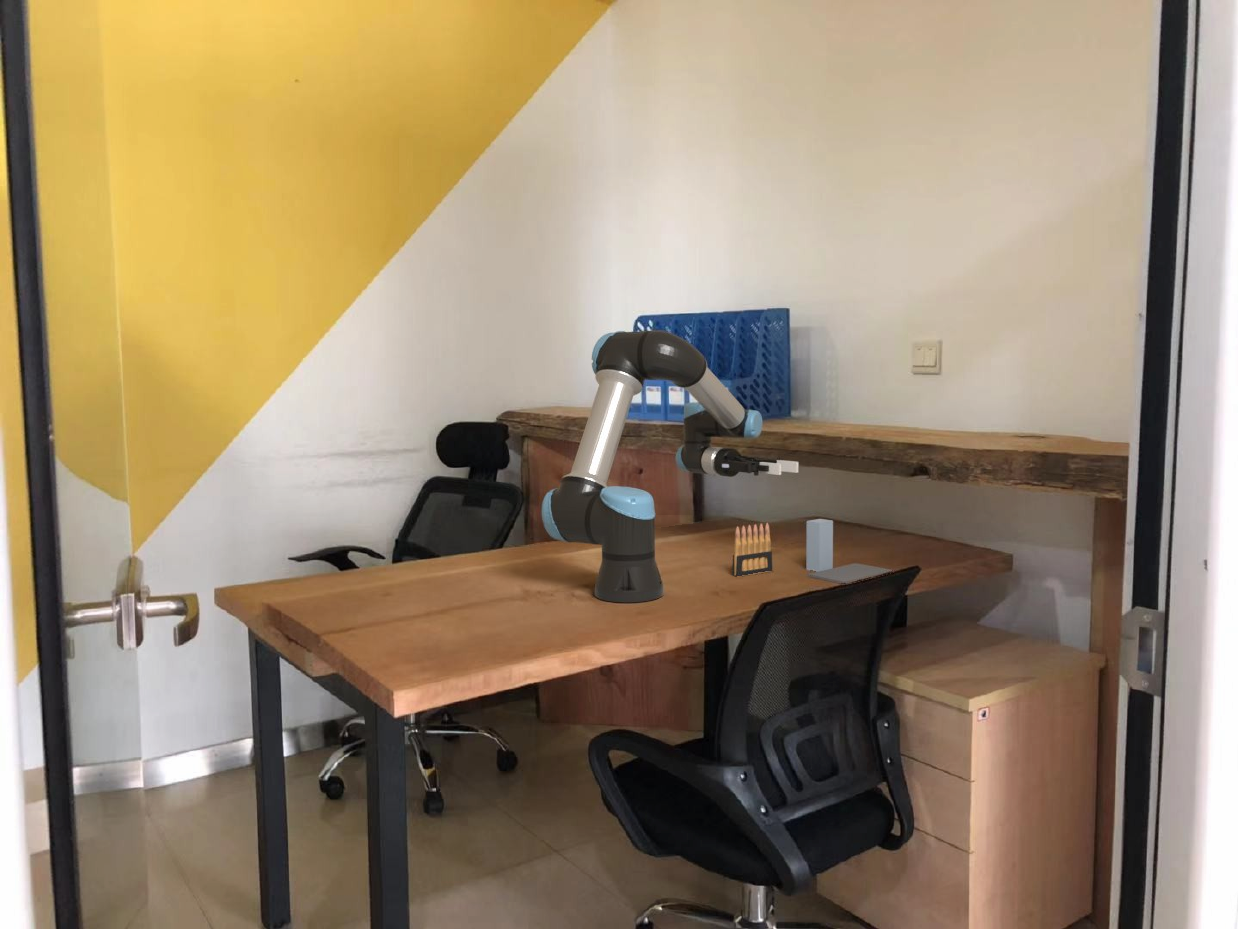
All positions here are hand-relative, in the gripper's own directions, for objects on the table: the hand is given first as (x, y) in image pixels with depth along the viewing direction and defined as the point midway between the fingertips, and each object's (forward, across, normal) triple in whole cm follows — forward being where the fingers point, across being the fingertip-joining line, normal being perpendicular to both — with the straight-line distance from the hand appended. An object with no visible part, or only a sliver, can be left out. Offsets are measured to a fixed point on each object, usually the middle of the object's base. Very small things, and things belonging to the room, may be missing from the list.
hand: (788, 468), depth 235 cm
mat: (+18, -1, -24) cm, 30 cm away
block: (+10, 0, -24) cm, 26 cm away
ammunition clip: (+2, +15, -24) cm, 29 cm away
